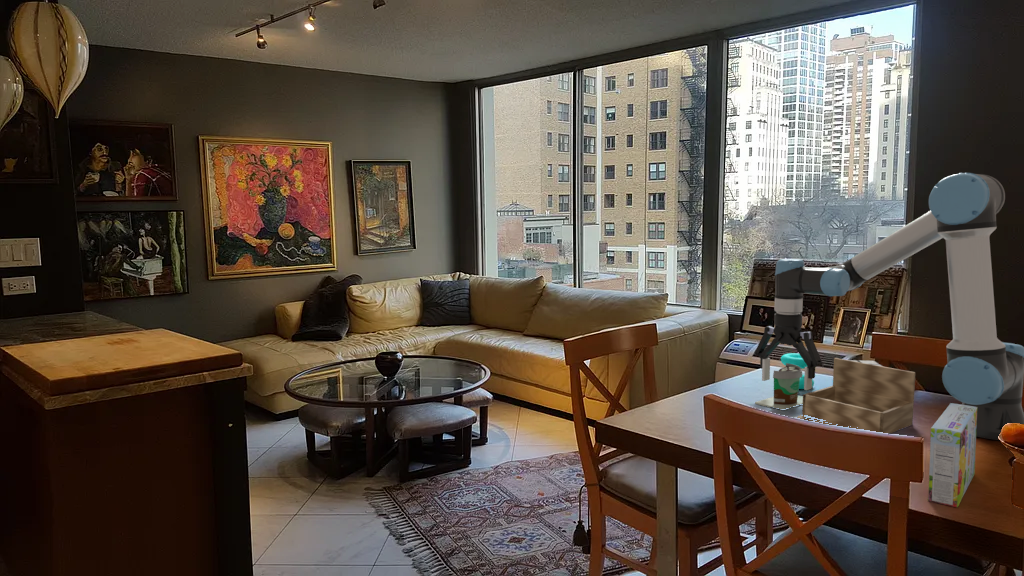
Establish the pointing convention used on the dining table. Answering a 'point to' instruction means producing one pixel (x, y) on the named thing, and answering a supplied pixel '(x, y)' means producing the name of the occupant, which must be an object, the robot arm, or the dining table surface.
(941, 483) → the snack box
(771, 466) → the dining table surface
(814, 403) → the wooden box
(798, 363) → the donuts
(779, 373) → the food container
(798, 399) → the mat
